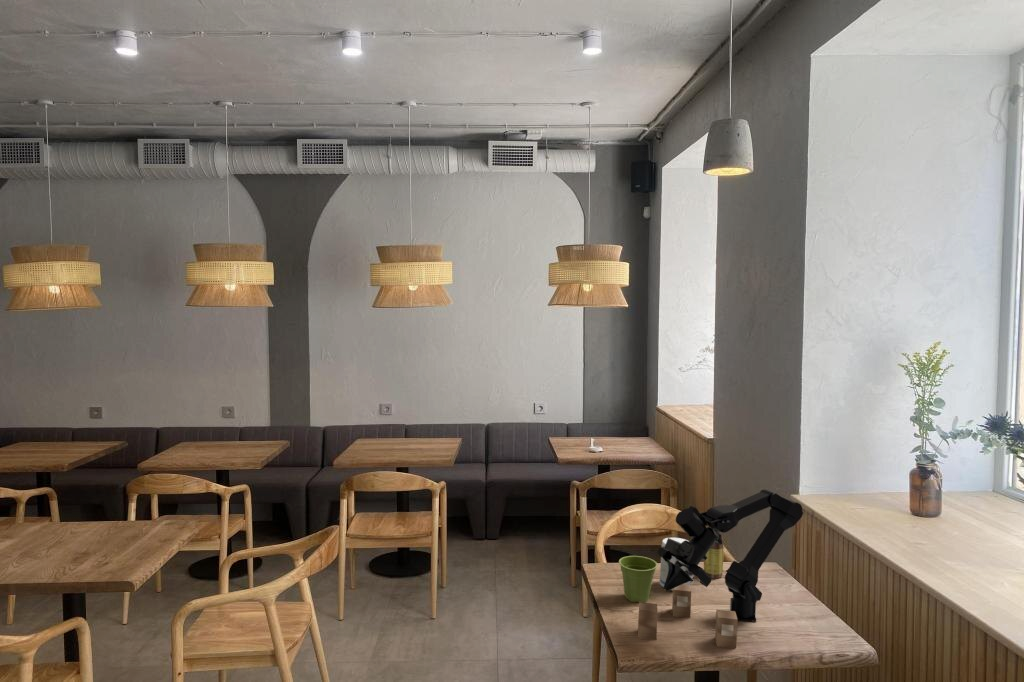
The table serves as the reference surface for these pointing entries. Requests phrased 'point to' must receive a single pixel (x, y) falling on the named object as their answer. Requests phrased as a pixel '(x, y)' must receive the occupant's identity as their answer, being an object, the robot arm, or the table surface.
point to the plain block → (647, 621)
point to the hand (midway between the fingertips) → (665, 589)
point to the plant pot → (637, 577)
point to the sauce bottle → (714, 559)
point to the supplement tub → (664, 564)
